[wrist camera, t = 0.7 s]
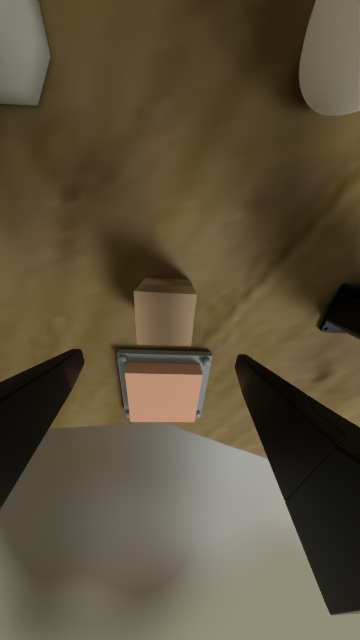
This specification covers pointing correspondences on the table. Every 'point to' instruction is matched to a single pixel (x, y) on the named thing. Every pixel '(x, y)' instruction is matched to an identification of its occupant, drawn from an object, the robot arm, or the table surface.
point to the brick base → (163, 384)
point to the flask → (22, 52)
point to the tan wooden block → (164, 311)
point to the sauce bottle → (332, 58)
